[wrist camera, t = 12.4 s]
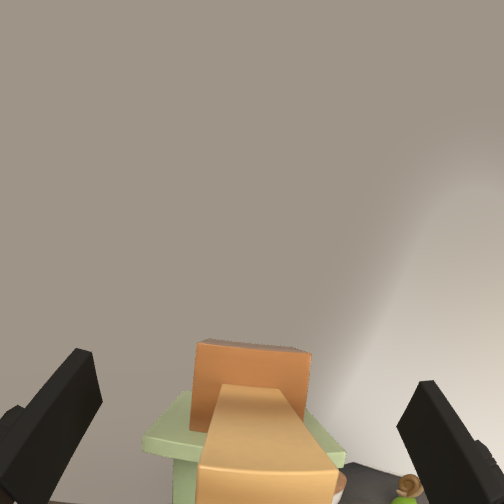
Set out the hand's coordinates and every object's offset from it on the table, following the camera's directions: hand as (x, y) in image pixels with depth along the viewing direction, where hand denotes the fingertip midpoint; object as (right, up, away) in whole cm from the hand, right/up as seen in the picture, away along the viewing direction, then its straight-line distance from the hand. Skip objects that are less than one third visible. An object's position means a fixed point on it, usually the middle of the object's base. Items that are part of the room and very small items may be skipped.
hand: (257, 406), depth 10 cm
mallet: (0, -3, +2) cm, 4 cm away
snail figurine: (+27, -43, +22) cm, 56 cm away
